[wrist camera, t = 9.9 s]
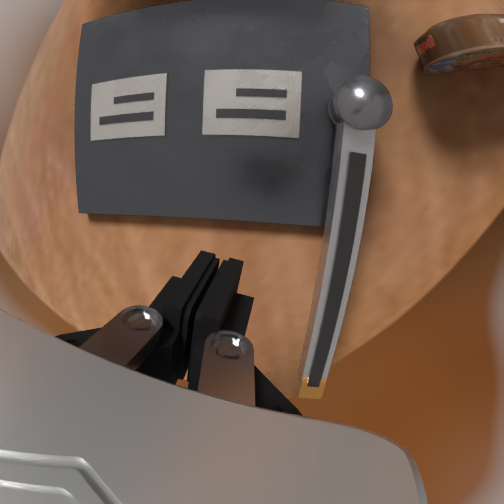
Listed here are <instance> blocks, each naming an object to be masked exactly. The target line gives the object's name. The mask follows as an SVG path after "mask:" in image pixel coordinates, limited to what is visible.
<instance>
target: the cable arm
mask: <svg viewBox="0 0 504 504" xmlns="http://www.w3.org/2000/svg"><path fill="white" fill-rule="evenodd" d="M329 109H330V114H331V116H332V118H333V120H334V121H335V122H336V123H337V124H336V135H335V145H334V155H333V164H332V173H331V182H330V190H329V198H328V205H327V213H326V220H325V227H324V234H323V241H322V247H321V253H320V260H319V266H318V272H317V278H316V284H315V289H314V295H313V300H312V306H311V311H310V316H309V322H308V327H307V332H306V337H305V342H304V346H303V351H302V356H301V360H300V365H299V370H298V398H307V399H321V398H322V395H323V391H324V388H325V386H326V379H327V376H328V372H329V369H330V366H331V362H332V359H333V355H334V352H335V348H336V345H337V341H338V337H339V333H340V330H341V326H342V322H343V318H344V314H345V310H346V306H347V302H348V297H349V293H350V289H351V284H352V280H353V275H354V271H355V266H356V261H357V256H358V251H359V246H360V241H361V235H362V230H363V224H364V218H365V212H366V206H367V200H368V193H369V186H370V179H371V171H372V164H373V155H374V146H375V137H376V129H378V128H380V127H382V126H383V125H384V124H386V122H387V121H388V120H389V118H390V116H391V114H392V109H393V104H392V98H391V96H390V93H389V91H388V90H387V88H386V87H385V86H384V85H383V84H382V83H381V82H379V81H378V80H376V79H374V78H372V77H368V76H357V77H354V78H351V79H350V80H348V81H347V82H346V83H345V84H343V85H342V86H341V87H340V88H339V89H338V90H337V91H336V92H335V93H334V94H333V95H332V97H331V99H330V103H329Z"/></svg>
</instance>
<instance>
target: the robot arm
mask: <svg viewBox="0 0 504 504" xmlns="http://www.w3.org/2000/svg"><path fill="white" fill-rule="evenodd" d="M219 261H220V259H218V258H215V254H213V253H209V252H205V251H201V252H200V253H199V254H198V256H197V257H196V259H195V260H194V261H193V263H192V264H191V266H190V267H189V268H188V270H187V271H186V273H185V274H184V275H183V277H182V278H178V277H175V276H172V277H171V278H170V280H169V281H168V282H167V284H166V285H165V286H164V288H163V289H162V290H161V292H160V293H159V294H158V295H157V297H156V298H155V299H154V301H153V302H152V303H151V305H150V306H149V307H147V306H140V305H139V306H131V307H128V308H125V309H124V310H122V311H121V312H120V313H118V314H117V315H116V316H115V317H114V318H113V319H111V320H110V321H109V322H108V323H107V324H105V325H104V326H103V327H102V328H96V329H91V330H85V331H79V332H74V333H67V334H62V335H58V336H52V335H51V334H49V333H47V332H45V331H42V330H40V329H39V328H37V327H34V326H33V325H30V324H29V323H27V322H25V321H23V320H21V319H19V318H17V317H15V316H13V315H11V314H9V313H7V312H5V311H4V310H2V309H0V504H428V502H427V497H426V493H425V489H424V485H423V481H422V478H421V476H420V473H419V470H418V467H417V465H416V463H415V461H414V459H413V458H412V456H411V455H410V454H409V453H408V451H406V450H405V449H404V448H403V447H402V446H401V445H399V444H397V443H396V442H394V441H392V440H390V439H389V438H386V437H384V436H381V435H379V434H377V433H374V432H372V431H368V430H365V429H362V428H359V427H355V426H351V425H346V424H342V423H337V422H332V421H326V420H320V419H315V418H310V417H305V416H302V414H301V413H300V412H299V410H298V409H297V408H296V407H295V406H294V405H293V404H292V403H291V402H290V401H289V400H288V399H287V398H286V397H285V396H284V395H283V394H282V393H281V392H280V391H279V390H278V389H277V388H276V387H275V386H274V385H273V384H272V383H271V382H270V381H269V380H268V379H267V378H266V377H265V376H264V375H263V374H262V373H261V372H260V371H259V369H258V368H257V367H256V366H255V365H254V349H253V345H252V343H251V342H250V340H249V339H247V338H246V337H245V333H246V329H247V325H248V321H249V317H250V313H251V309H252V305H253V301H254V297H250V296H246V295H242V294H238V293H237V289H238V285H239V280H240V276H241V271H242V267H243V261H241V260H237V259H233V258H229V260H228V261H226V260H223V262H222V264H221V265H220V267H219ZM218 267H219V269H218ZM187 370H188V375H187V381H188V382H189V384H188V388H184V387H182V386H178V385H175V384H176V382H177V380H178V379H181V380H183V379H184V377H185V374H186V372H187Z"/></svg>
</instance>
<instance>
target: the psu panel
mask: <svg viewBox="0 0 504 504" xmlns="http://www.w3.org/2000/svg"><path fill="white" fill-rule="evenodd" d="M357 76H368V77H370V33H369V7H366V6H361V5H355V4H349V3H343V2H336V1H328V0H190V1H182V2H175V3H169V4H162V5H157V6H151V7H146V8H141V9H137V10H132V11H128V12H123V13H119V14H115V15H112V16H108V17H104V18H101V19H97V20H94V21H91V22H88V23H84V24H83V25H82V31H81V38H80V46H79V55H78V65H77V78H76V94H75V167H76V184H77V197H78V208H79V213H88V214H119V215H144V216H166V217H186V218H204V219H221V220H237V221H252V222H267V223H280V224H293V225H306V226H318V227H325V220H326V213H327V205H328V198H329V190H330V182H331V173H332V164H333V155H334V145H335V135H336V124H337V123H336V122H335V121H334V120H333V118H332V116H331V114H330V109H329V103H330V99H331V97H332V95H333V94H334V93H335V92H336V91H337V90H338V89H339V88H340V87H341V86H342V85H343V84H345V83H346V82H347V81H348V80H350V79H351V78H354V77H357Z"/></svg>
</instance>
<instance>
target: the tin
mask: <svg viewBox="0 0 504 504" xmlns="http://www.w3.org/2000/svg"><path fill="white" fill-rule="evenodd" d="M414 46H415V49H416V51H417V54H418V56H419V58H420V60H421V63H422V65H423V67H424V69H423V70H424V72H425V73H427V74H441V73H448V72H455V71H462V70H469V69H476V68H485V67H495V66H504V14H473V15H466V16H460V17H456V18H452V19H449V20H446V21H443V22H441V23H438V24H436V25H434V26H432V27H431V28H430V29H428V30H427V32H426V33H424V34H423V35H422V36H421V37H419V38H418V39H417V40H416V42H414Z"/></svg>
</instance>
